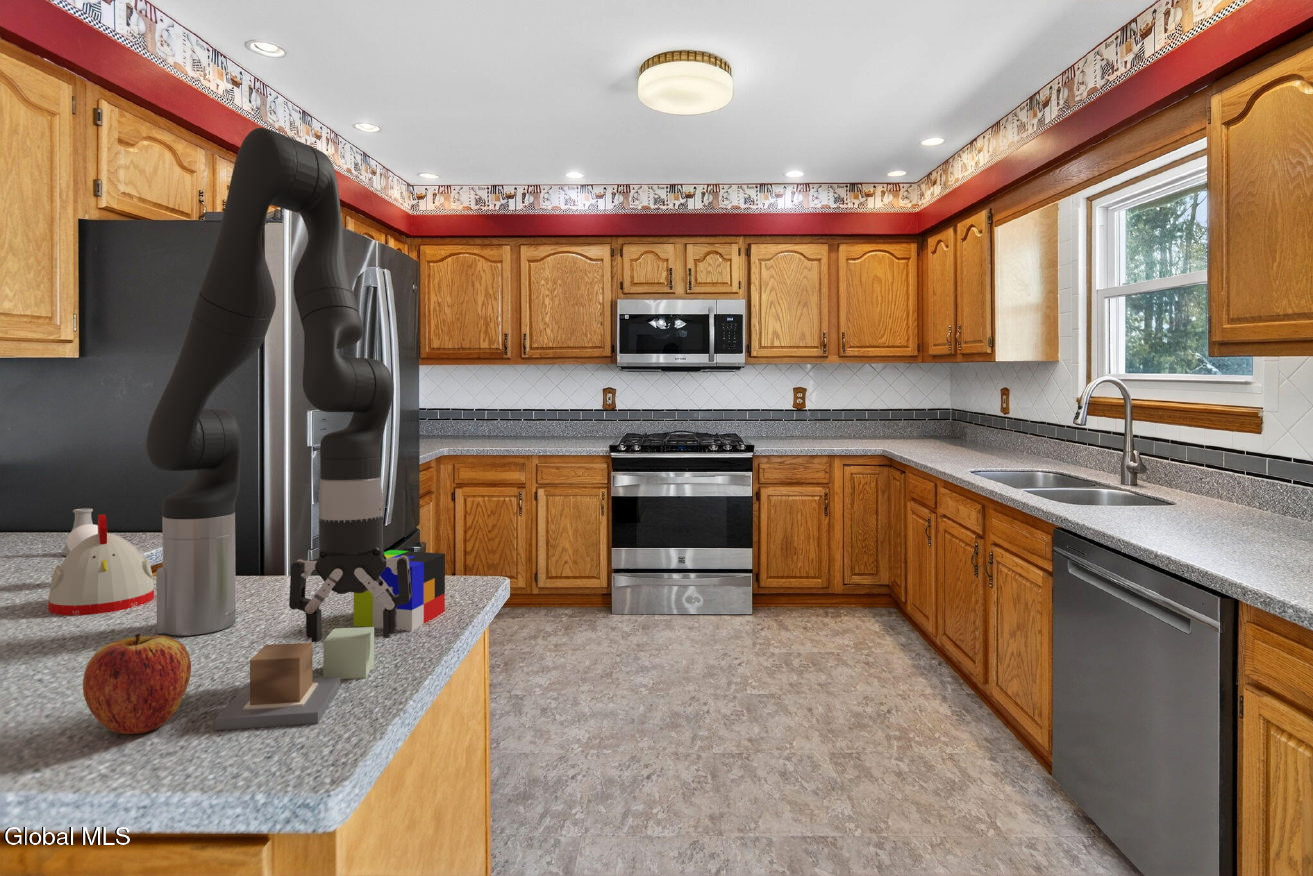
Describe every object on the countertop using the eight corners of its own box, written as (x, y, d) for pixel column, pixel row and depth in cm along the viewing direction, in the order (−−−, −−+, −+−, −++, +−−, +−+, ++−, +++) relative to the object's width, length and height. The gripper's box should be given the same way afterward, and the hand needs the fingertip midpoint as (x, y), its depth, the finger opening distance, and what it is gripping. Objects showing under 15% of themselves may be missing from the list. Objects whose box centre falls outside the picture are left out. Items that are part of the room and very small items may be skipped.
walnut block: (250, 705, 76) (249, 660, 75) (266, 687, 81) (265, 644, 80) (299, 702, 77) (299, 657, 76) (312, 684, 82) (312, 642, 81)
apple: (68, 755, 67) (66, 653, 67) (100, 716, 75) (98, 626, 75) (180, 739, 71) (179, 642, 70) (198, 704, 79) (197, 617, 79)
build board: (215, 730, 73) (215, 717, 73) (250, 691, 82) (250, 680, 82) (317, 723, 75) (317, 710, 75) (340, 686, 85) (340, 675, 84)
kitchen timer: (48, 621, 107) (46, 524, 106) (48, 601, 118) (47, 513, 117) (158, 605, 116) (157, 516, 116) (149, 588, 127) (148, 507, 126)
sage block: (323, 680, 86) (323, 641, 86) (333, 666, 91) (333, 628, 91) (366, 678, 87) (366, 639, 87) (374, 664, 92) (374, 627, 92)
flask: (53, 556, 150) (52, 511, 149) (86, 550, 157) (85, 506, 157) (81, 558, 149) (80, 512, 148) (113, 551, 156) (112, 507, 155)
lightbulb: (103, 577, 134) (102, 520, 133) (114, 582, 130) (113, 524, 130) (63, 583, 129) (62, 524, 128) (73, 588, 125) (72, 528, 125)
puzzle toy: (411, 631, 106) (412, 566, 105) (353, 626, 108) (353, 562, 107) (444, 613, 115) (445, 553, 115) (390, 608, 117) (390, 549, 117)
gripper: (281, 519, 83) (283, 652, 84) (405, 516, 86) (406, 644, 87) (299, 510, 91) (301, 633, 91) (413, 508, 94) (414, 626, 94)
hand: (352, 638), depth 89 cm, fingers open, 8 cm apart
